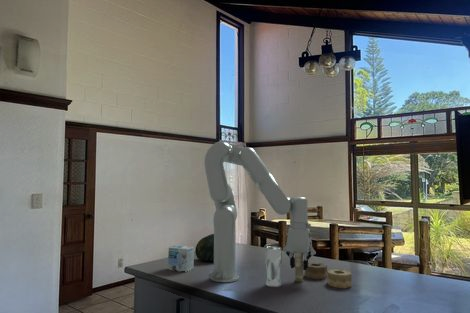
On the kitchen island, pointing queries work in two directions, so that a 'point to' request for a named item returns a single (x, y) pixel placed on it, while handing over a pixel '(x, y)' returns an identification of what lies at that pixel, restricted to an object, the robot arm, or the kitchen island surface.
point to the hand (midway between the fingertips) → (299, 268)
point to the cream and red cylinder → (298, 267)
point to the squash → (205, 248)
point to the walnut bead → (316, 271)
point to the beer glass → (273, 265)
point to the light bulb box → (181, 258)
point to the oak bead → (339, 278)
